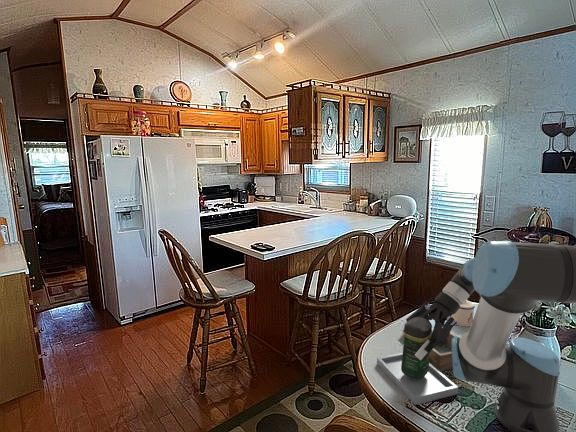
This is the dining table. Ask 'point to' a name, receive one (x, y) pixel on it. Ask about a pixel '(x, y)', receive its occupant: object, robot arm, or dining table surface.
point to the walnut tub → (442, 356)
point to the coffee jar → (415, 347)
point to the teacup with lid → (464, 314)
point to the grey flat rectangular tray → (417, 381)
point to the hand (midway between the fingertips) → (408, 349)
